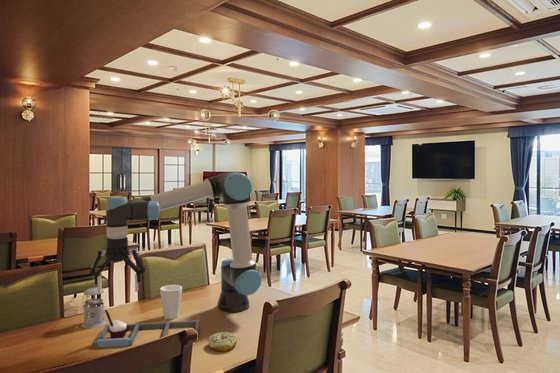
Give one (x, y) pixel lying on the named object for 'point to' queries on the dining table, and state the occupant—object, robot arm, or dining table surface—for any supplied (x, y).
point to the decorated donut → (222, 341)
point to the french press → (93, 309)
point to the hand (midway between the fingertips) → (118, 291)
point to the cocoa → (117, 327)
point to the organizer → (135, 327)
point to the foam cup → (171, 300)
